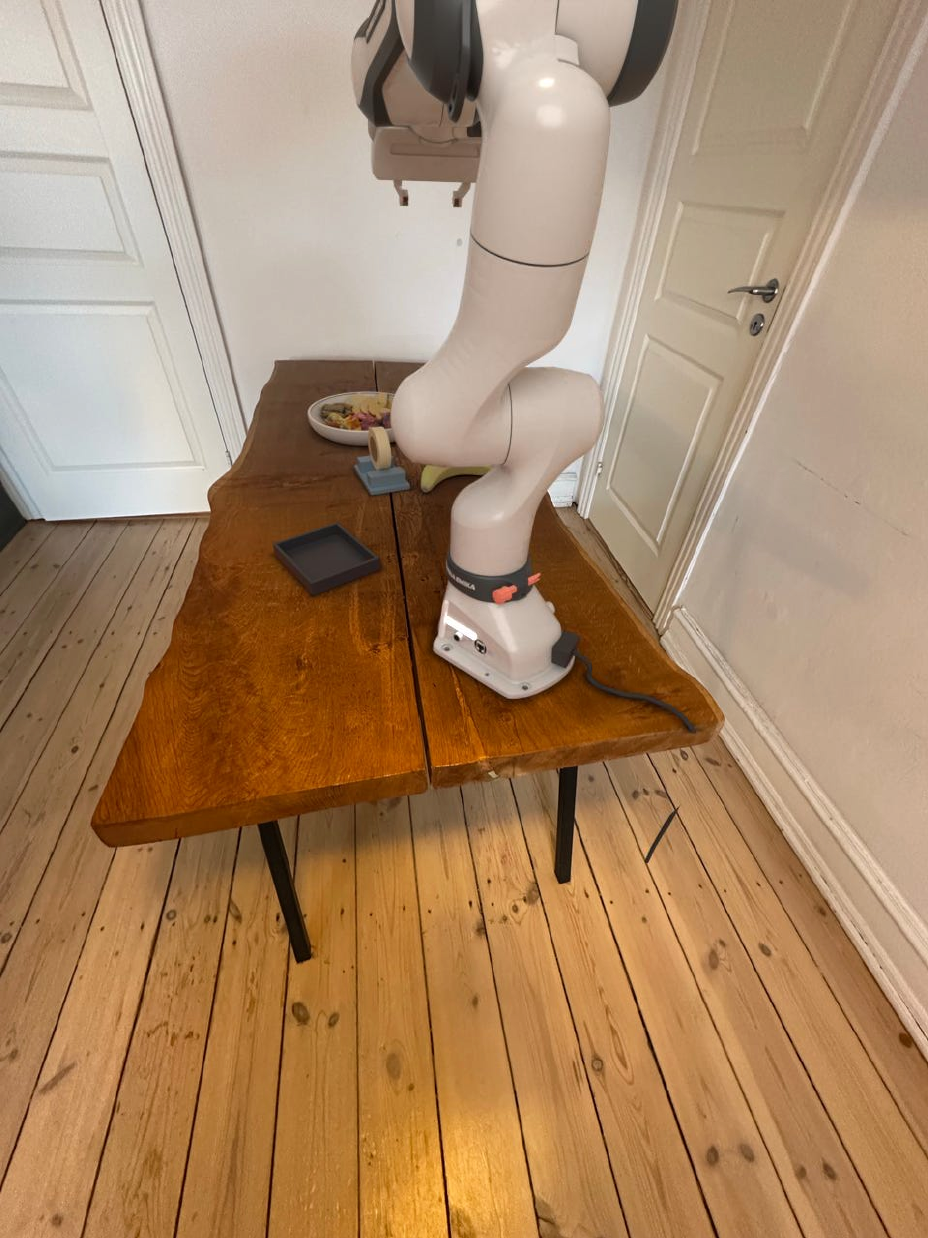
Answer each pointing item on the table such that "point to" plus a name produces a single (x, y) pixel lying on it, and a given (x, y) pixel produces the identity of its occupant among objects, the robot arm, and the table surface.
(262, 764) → the table surface
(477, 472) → the banana
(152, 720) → the table surface
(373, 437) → the tape
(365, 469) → the holder
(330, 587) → the tray
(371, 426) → the bowl
